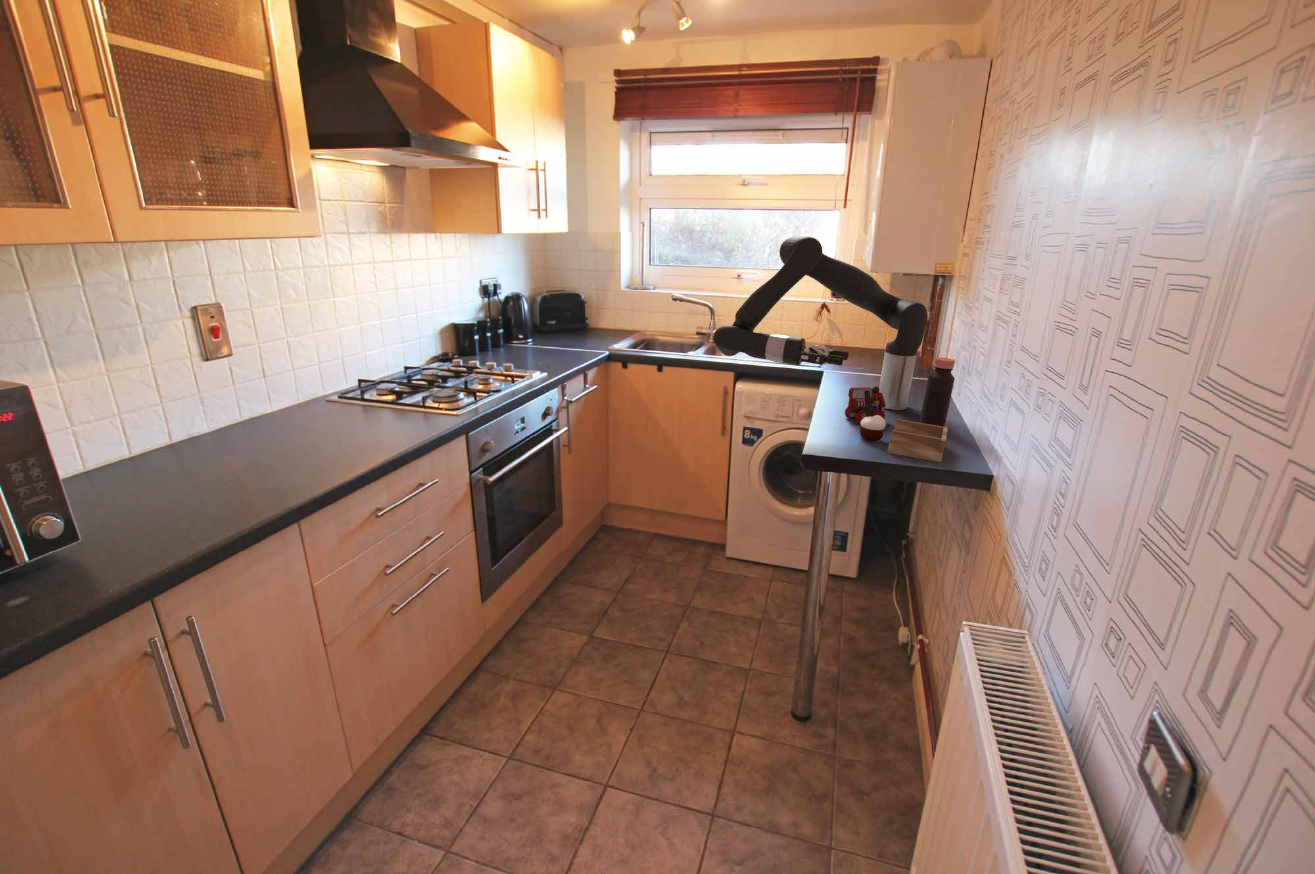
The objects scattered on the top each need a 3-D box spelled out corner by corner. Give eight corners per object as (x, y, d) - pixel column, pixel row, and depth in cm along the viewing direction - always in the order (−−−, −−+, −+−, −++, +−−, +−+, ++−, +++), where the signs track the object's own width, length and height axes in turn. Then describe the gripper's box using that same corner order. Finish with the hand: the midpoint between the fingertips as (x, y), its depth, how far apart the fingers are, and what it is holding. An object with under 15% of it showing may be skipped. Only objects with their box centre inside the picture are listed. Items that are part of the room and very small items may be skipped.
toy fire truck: (889, 424, 177) (895, 389, 174) (852, 425, 174) (857, 390, 170) (875, 417, 183) (881, 383, 180) (839, 418, 180) (844, 384, 177)
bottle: (918, 422, 179) (931, 355, 173) (943, 426, 177) (957, 358, 171) (919, 429, 173) (933, 360, 167) (945, 432, 171) (960, 363, 165)
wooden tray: (893, 437, 165) (897, 418, 163) (943, 446, 160) (948, 426, 158) (887, 452, 153) (891, 431, 152) (941, 462, 148) (945, 441, 146)
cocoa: (885, 446, 159) (895, 403, 154) (860, 443, 159) (870, 400, 155) (877, 433, 168) (886, 392, 163) (853, 430, 168) (862, 389, 164)
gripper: (780, 339, 159) (843, 348, 153) (793, 332, 171) (852, 341, 165) (776, 367, 161) (838, 377, 155) (789, 359, 174) (847, 368, 168)
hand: (845, 358), depth 160 cm, fingers open, 8 cm apart
